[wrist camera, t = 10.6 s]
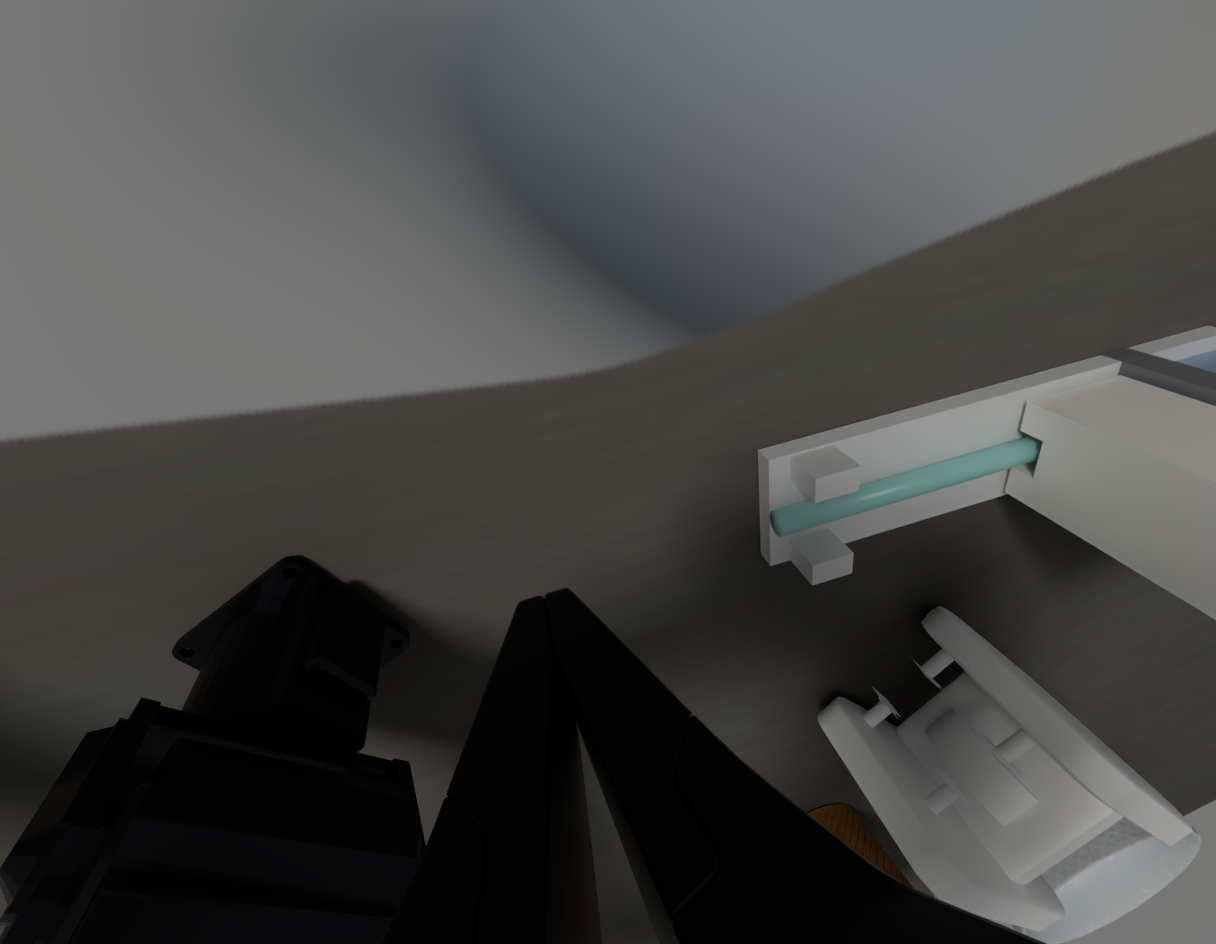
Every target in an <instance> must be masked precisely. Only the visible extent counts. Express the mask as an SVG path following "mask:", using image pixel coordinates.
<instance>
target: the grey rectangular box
mask: <svg viewBox="0 0 1216 944" xmlns="http://www.w3.org/2000/svg"><path fill="white" fill-rule="evenodd" d="M1020 431H1022V432H1024V433H1026V434H1028V435H1030V436H1032V437H1035V438H1037V439H1039V440H1041V441H1043V443H1042V447H1041V450H1040V454H1039V458H1038V460H1037V461H1033V462H1030V463H1027V464H1023V465H1020V466H1017V467H1013V468H1011V469H1010V473H1009V477H1008V481H1007V485H1006V489H1005V492H1006V493H1007V494H1009V495H1011V496H1012V497H1014V498H1016V499H1017V500H1019V501H1020V502H1022V503H1024V504H1025V505H1027V506H1029V507H1030V508H1032V509H1034V510H1035V511H1037V512H1039V513H1040V514H1042V515H1044V516H1045V517H1047V518H1049V519H1050V520H1052V521H1053V522H1055V523H1057V524H1058V525H1060V526H1062V527H1063V528H1065V529H1067V530H1068V531H1070V532H1072V533H1073V534H1075V535H1077V536H1078V537H1080V538H1082V539H1083V540H1085V541H1086V542H1088V543H1090V544H1091V545H1093V546H1095V547H1096V548H1098V549H1100V550H1101V551H1103V552H1105V553H1106V554H1108V555H1110V556H1111V557H1113V558H1115V559H1116V560H1118V561H1119V562H1121V563H1123V564H1124V565H1126V566H1128V567H1129V568H1131V569H1133V570H1134V571H1136V572H1138V573H1139V574H1141V575H1143V576H1144V577H1146V578H1148V579H1149V580H1151V581H1152V582H1154V583H1156V584H1157V585H1159V586H1161V587H1162V588H1164V589H1166V590H1167V591H1169V592H1171V593H1172V594H1174V595H1176V596H1177V597H1179V598H1181V599H1182V600H1184V601H1185V602H1187V603H1189V604H1190V605H1192V606H1194V607H1195V608H1197V609H1199V610H1200V611H1202V612H1204V613H1205V614H1207V615H1209V616H1210V617H1212V618H1214V619H1215V620H1216V406H1214V405H1211V404H1208V403H1204V402H1201V401H1198V400H1195V399H1192V398H1189V397H1186V396H1183V395H1180V394H1177V393H1174V392H1171V391H1168V390H1165V389H1162V388H1159V387H1155V386H1152V385H1149V384H1146V383H1143V382H1140V381H1137V380H1134V379H1131V378H1128V377H1125V376H1122V375H1119V376H1116V377H1112V378H1108V379H1105V380H1101V381H1098V382H1094V383H1091V384H1087V385H1084V386H1080V387H1077V388H1073V389H1070V390H1066V391H1062V392H1059V393H1055V394H1052V395H1048V396H1045V397H1041V398H1038V399H1034V400H1031V401H1027V404H1026V408H1025V412H1024V416H1023V420H1022V425H1021V429H1020Z"/></svg>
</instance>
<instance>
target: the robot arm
mask: <svg viewBox="0 0 1216 944" xmlns="http://www.w3.org/2000/svg"><path fill="white" fill-rule="evenodd" d="M286 568H293V569H295V570H296V571H295V572H290V571H288V570H287V569H286ZM395 639H400V640H401V641H394V640H395ZM409 640H410V635H409V633H408V632H407V631H406V630H405V629H403V628H402V627H400V626H399V625H398V624H396V623H395V622H393V621H392V620H390V619H389V618H387V617H386V615H385V614H383V613H382V612H380V611H379V610H377V609H376V608H374V607H373V606H372V605H370V604H369V603H367V602H366V601H364V600H363V599H361V598H360V597H358V596H357V595H355V594H354V593H353V592H351V591H350V590H348V589H347V588H345V587H344V586H342V585H339V584H337V583H336V582H334V581H333V580H332V579H330V578H329V577H327V576H326V575H324V574H323V573H321V572H320V571H318V570H317V569H315V568H314V567H312V566H311V565H310V564H308V563H307V562H305V561H304V560H302V559H300V558H298V557H294V556H289V557H285V558H283V559H281V560H280V561H279V562H277V563H276V564H275V565H273V566H272V567H271V568H270V569H268V570H267V571H266V572H264V573H263V574H262V575H261V576H259V577H258V578H257V579H255V580H254V581H253V582H252V583H250V584H249V585H248V586H246V587H245V588H244V589H243V590H241V591H240V592H239V593H237V594H236V595H235V596H234V597H232V598H231V599H230V600H229V601H227V602H226V603H225V604H223V605H222V606H221V607H220V608H218V609H217V610H216V611H214V612H213V613H212V614H211V615H209V616H208V617H207V618H205V619H204V620H203V621H202V622H200V623H199V624H198V625H196V626H195V627H194V628H193V629H191V630H190V631H189V632H187V633H186V634H185V635H184V636H182V637H181V638H180V639H179V640H178V641H177V642H176V644H175V646H174V648H173V649H172V654H173V656H174V657H175V658H176V659H178V660H179V661H181V662H183V663H185V664H187V665H189V666H191V667H193V668H195V669H197V670H199V671H200V673H199V675H198V677H197V679H196V681H195V683H194V685H193V687H192V689H191V692H190V694H189V696H188V698H187V700H186V702H185V704H184V706H183V708H182V710H176V709H172V708H168V707H164V706H160V704H161V702H158V701H154V700H150V699H146V698H141V699H140V700H139V702H138V704H137V705H136V707H135V708H134V710H133V711H132V713H131V715H130V716H129V718H128V719H123V718H120V719H119V720H118V722H117V723H116V724H115V726H113V727H108V728H104V729H100V730H96V731H92V732H88V733H87V734H86V735H85V737H84V738H83V740H82V741H81V743H80V745H79V746H78V748H77V749H76V751H75V753H74V754H73V756H72V757H71V759H70V760H69V762H68V764H67V765H66V767H65V768H64V770H63V772H62V773H61V775H60V776H59V778H58V779H57V781H56V783H55V784H54V786H53V787H52V789H51V790H50V792H49V793H48V795H47V797H46V798H45V800H44V801H43V803H42V804H41V806H40V807H39V809H38V810H37V812H36V813H35V815H34V817H33V818H32V820H31V821H30V823H29V824H28V826H27V827H26V829H25V830H24V832H23V833H22V835H21V837H20V838H19V840H18V841H17V843H16V844H15V846H14V847H13V849H12V850H11V852H10V854H9V855H8V857H7V858H6V860H5V862H4V863H3V865H2V866H1V868H0V885H1V888H2V891H3V894H4V896H5V899H6V902H7V904H8V906H7V908H6V910H5V911H4V913H3V915H2V917H1V919H0V925H2V926H6V927H5V929H4V931H3V933H2V935H1V937H0V944H602V935H601V926H600V917H599V909H598V900H597V891H596V882H595V873H594V864H593V856H592V847H591V838H590V829H589V820H588V811H587V803H586V794H585V785H584V776H583V767H582V758H581V750H580V741H579V734H578V728H577V724H578V727H579V730H580V733H581V736H582V739H583V742H584V744H585V747H586V750H587V752H588V755H589V758H590V760H591V763H592V765H593V768H594V771H595V773H596V776H597V779H598V781H599V784H600V787H601V789H602V792H603V795H604V797H605V800H606V803H607V805H608V808H609V811H610V813H611V816H612V818H613V821H614V824H615V826H616V829H617V832H618V834H619V837H620V840H621V842H622V845H623V848H624V850H625V853H626V856H627V858H628V861H629V864H630V866H631V869H632V872H633V874H634V877H635V879H636V882H637V885H638V887H639V890H640V893H641V895H642V898H643V901H644V903H645V906H646V909H647V911H648V914H649V917H650V919H651V922H652V925H653V927H654V930H655V932H656V935H657V938H658V940H659V943H660V944H1047V943H1044V942H1042V941H1039V940H1037V939H1035V938H1032V937H1030V936H1027V935H1025V934H1022V933H1020V932H1017V931H1015V930H1013V929H1010V928H1007V927H1005V926H1003V925H1000V924H998V923H995V922H993V921H990V920H988V919H986V918H983V917H981V916H978V915H976V914H973V913H971V912H968V911H966V910H964V909H961V908H959V907H956V906H954V905H951V904H949V903H946V902H944V901H941V900H939V899H937V898H934V897H932V896H929V895H927V894H925V893H922V892H920V891H918V890H916V889H914V888H912V887H910V886H908V885H906V884H904V883H902V882H900V881H899V880H897V879H895V878H894V877H892V876H890V875H889V874H887V873H885V872H884V871H882V870H881V869H879V868H878V867H877V866H875V865H874V864H872V863H871V862H869V861H868V860H867V859H865V858H864V857H863V856H861V855H860V854H859V853H857V852H856V851H855V850H853V849H852V848H851V847H850V846H848V845H847V844H846V843H844V842H843V841H842V840H841V839H839V838H838V837H837V836H836V835H834V834H833V833H832V832H830V831H829V830H828V829H827V828H825V827H824V826H823V825H822V824H820V823H819V822H818V821H816V820H815V819H814V818H813V817H811V816H810V815H809V814H808V813H806V812H805V811H804V810H803V809H801V808H800V807H799V806H797V805H796V804H795V803H794V802H792V801H791V800H790V799H789V798H787V797H786V796H785V795H783V794H782V793H781V792H780V791H778V790H777V789H776V788H775V787H773V786H772V785H771V784H770V783H768V782H767V781H766V780H765V779H764V778H762V777H761V776H760V775H759V774H758V773H756V772H755V771H754V770H753V769H752V768H750V767H749V766H748V765H747V764H746V763H744V762H743V761H742V760H741V759H740V758H739V757H738V756H736V755H735V754H734V753H733V752H732V751H731V750H730V749H729V748H728V747H727V746H726V745H725V744H724V743H723V742H722V741H721V740H720V739H718V738H717V737H716V736H715V735H714V734H713V733H712V732H711V731H710V730H709V729H708V728H707V727H706V726H705V725H704V724H703V723H702V722H701V721H700V720H699V719H698V718H697V717H696V716H692V712H691V711H690V710H689V709H688V708H687V707H686V706H685V705H684V704H683V703H682V702H681V701H680V700H679V699H678V698H677V697H676V696H675V695H674V694H673V693H672V692H671V691H670V690H669V689H668V688H667V687H666V686H665V685H664V684H663V683H662V682H661V681H660V680H659V679H658V678H657V677H656V676H655V675H654V674H653V673H652V672H651V671H650V670H649V668H648V667H647V666H646V665H645V664H644V663H643V662H642V661H641V660H640V659H639V658H638V657H637V656H636V655H635V654H634V653H633V652H632V651H631V650H630V649H629V648H628V647H627V646H626V645H625V644H624V643H623V642H622V641H621V640H620V639H619V638H618V637H617V636H616V635H615V634H614V633H613V632H612V631H611V630H610V629H609V628H608V627H607V626H606V625H605V624H604V623H603V622H602V621H601V620H600V619H599V618H598V617H597V616H596V615H595V614H594V613H593V612H592V611H591V610H590V609H589V608H588V607H587V606H586V605H585V604H584V603H583V602H582V601H581V600H580V599H579V598H578V597H577V596H576V595H575V594H574V593H573V592H572V591H571V590H570V589H569V588H564V589H560V590H557V591H553V592H550V593H547V594H546V595H545V599H544V597H543V596H536V597H533V598H529V599H526V600H523V601H520V602H519V603H518V605H517V607H516V610H515V612H514V615H513V618H512V620H511V623H510V626H509V628H508V631H507V634H506V636H505V639H504V642H503V644H502V647H501V650H500V652H499V655H498V658H497V660H496V663H495V666H494V668H493V671H492V674H491V676H490V679H489V682H488V684H487V687H486V690H485V692H484V695H483V698H482V700H481V703H480V706H479V708H478V711H477V714H476V716H475V719H474V722H473V724H472V727H471V730H470V732H469V735H468V738H467V740H466V743H465V746H464V748H463V751H462V754H461V756H460V759H459V762H458V764H457V767H456V770H455V772H454V775H453V778H452V780H451V783H450V786H449V788H448V791H447V795H448V797H446V798H445V799H444V801H443V804H442V806H441V809H440V812H439V814H438V817H437V820H436V823H435V825H434V828H433V830H432V833H431V835H430V838H429V840H428V843H427V845H425V840H424V835H423V830H422V825H421V820H420V814H419V809H418V804H417V799H416V794H415V789H414V784H413V778H412V773H411V768H410V763H409V762H408V761H404V760H399V759H393V760H392V761H391V760H387V759H382V758H378V757H374V756H370V755H366V754H361V753H357V752H358V751H360V750H361V749H362V748H363V747H364V746H365V739H366V732H367V725H368V718H369V712H370V705H371V698H373V697H374V696H375V695H376V693H377V686H378V678H379V671H380V668H381V667H382V666H383V665H385V664H386V663H387V662H389V661H390V660H391V659H393V658H394V657H396V656H397V655H398V654H400V653H401V652H402V651H404V650H405V649H406V648H407V647H408V645H409ZM186 648H190V649H192V650H188V649H186ZM575 717H576V718H575ZM576 720H577V723H576Z"/></svg>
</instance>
